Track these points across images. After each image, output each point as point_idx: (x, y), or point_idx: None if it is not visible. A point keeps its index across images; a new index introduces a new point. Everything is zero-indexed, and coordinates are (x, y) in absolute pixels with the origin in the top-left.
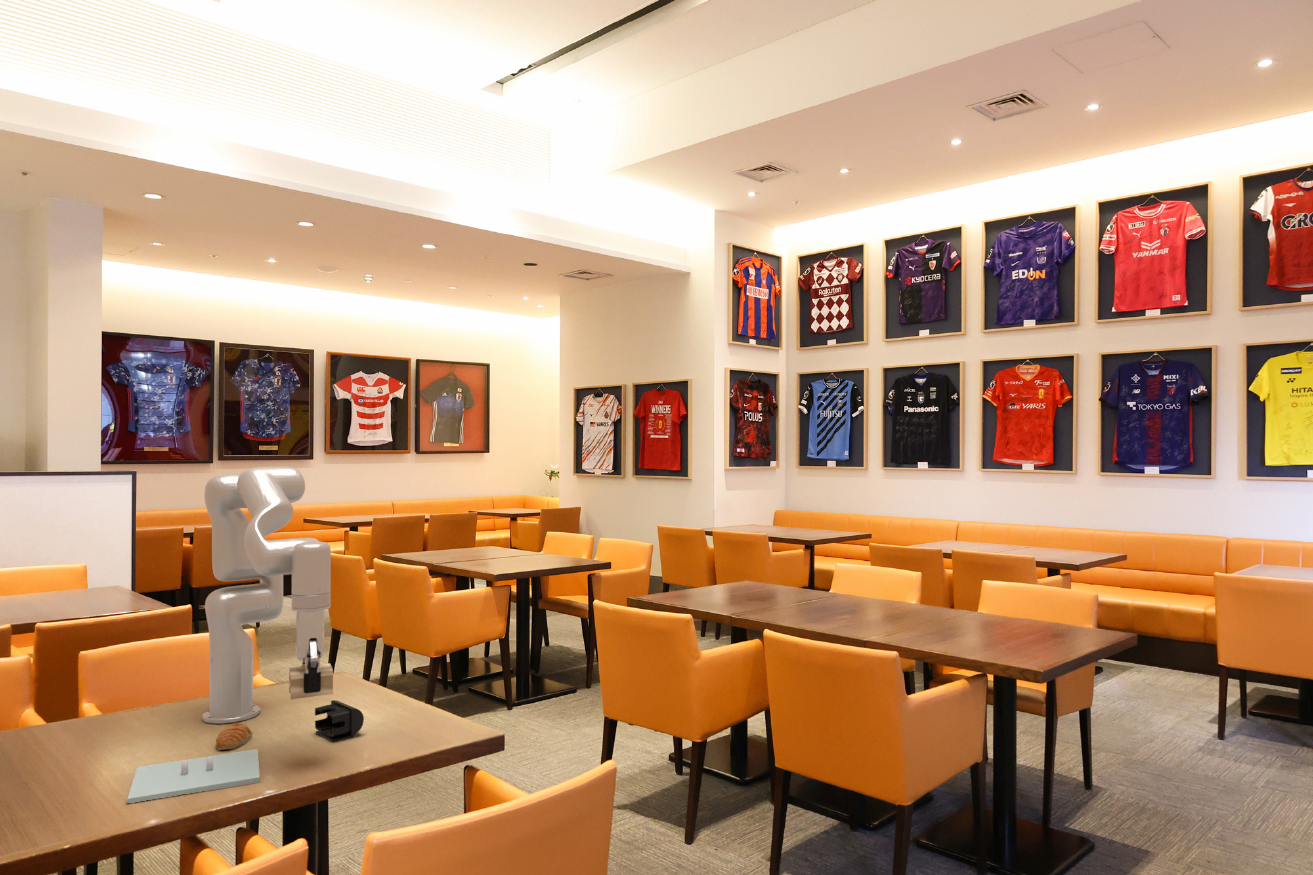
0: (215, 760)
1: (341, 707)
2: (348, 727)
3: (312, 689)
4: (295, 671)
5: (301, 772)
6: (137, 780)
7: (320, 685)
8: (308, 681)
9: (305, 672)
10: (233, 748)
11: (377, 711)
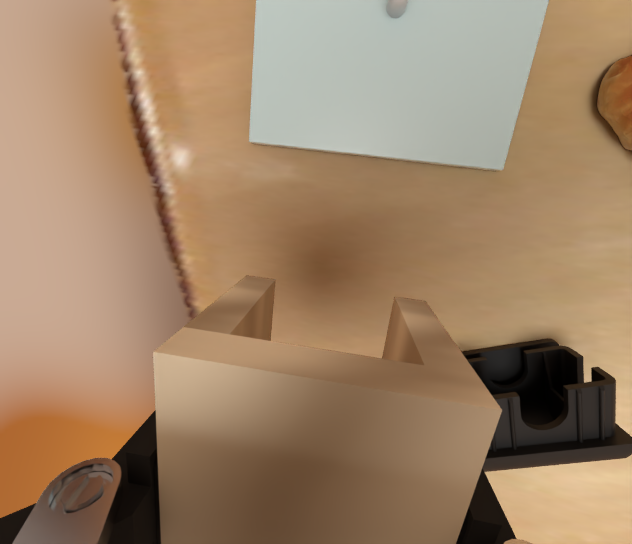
0: (481, 31)
1: (543, 443)
2: None
3: None
4: (272, 417)
5: (268, 245)
6: None
7: None
8: (145, 423)
9: (112, 474)
10: (598, 108)
11: (619, 500)
